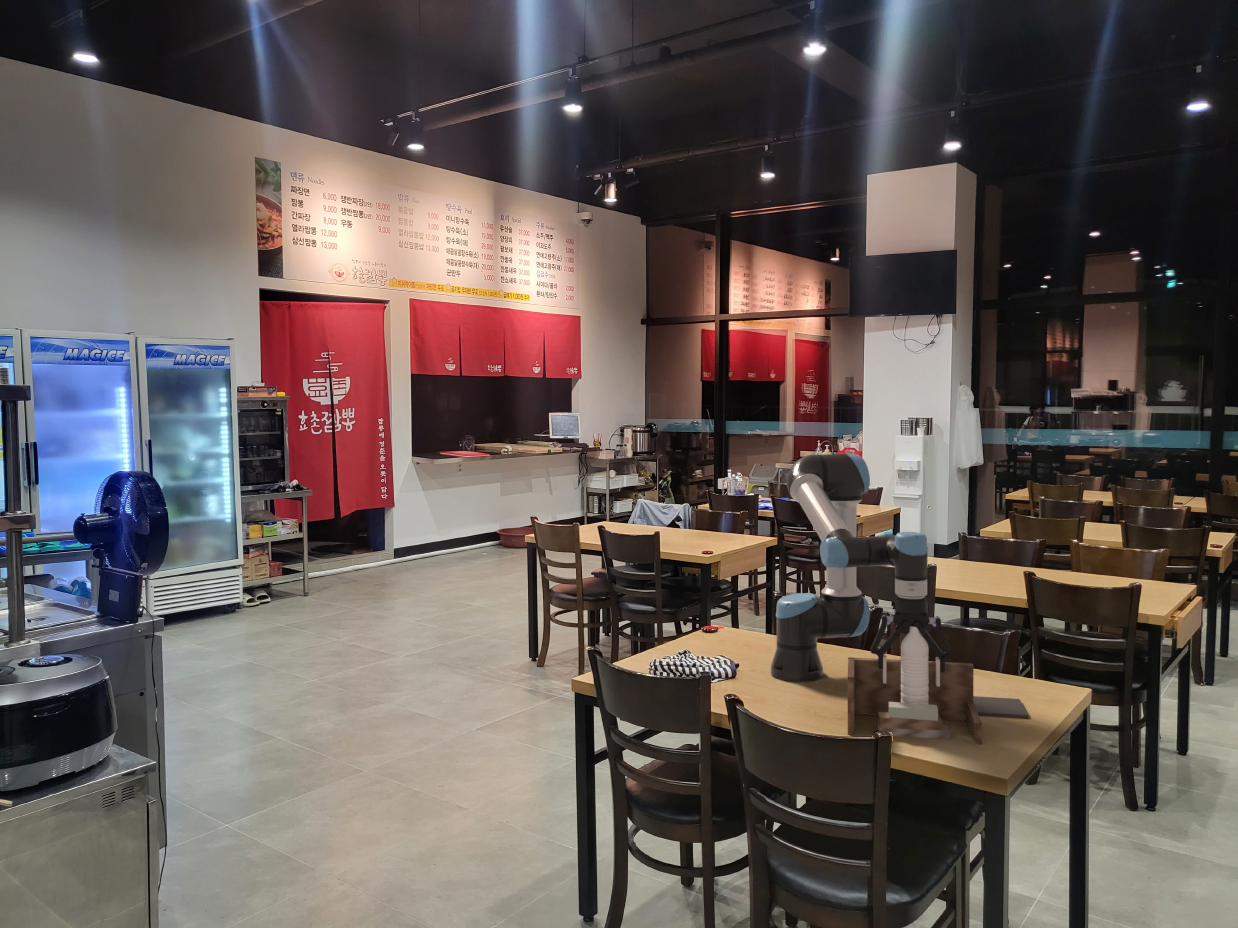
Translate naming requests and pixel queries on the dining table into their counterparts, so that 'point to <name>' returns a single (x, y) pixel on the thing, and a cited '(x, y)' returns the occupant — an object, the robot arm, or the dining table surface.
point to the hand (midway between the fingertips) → (911, 683)
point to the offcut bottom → (920, 732)
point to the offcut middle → (907, 723)
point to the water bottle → (914, 668)
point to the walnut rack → (875, 695)
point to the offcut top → (913, 711)
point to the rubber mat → (1000, 707)
